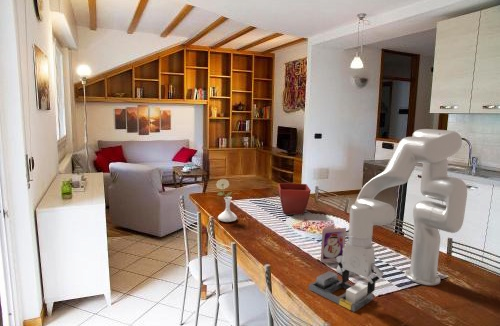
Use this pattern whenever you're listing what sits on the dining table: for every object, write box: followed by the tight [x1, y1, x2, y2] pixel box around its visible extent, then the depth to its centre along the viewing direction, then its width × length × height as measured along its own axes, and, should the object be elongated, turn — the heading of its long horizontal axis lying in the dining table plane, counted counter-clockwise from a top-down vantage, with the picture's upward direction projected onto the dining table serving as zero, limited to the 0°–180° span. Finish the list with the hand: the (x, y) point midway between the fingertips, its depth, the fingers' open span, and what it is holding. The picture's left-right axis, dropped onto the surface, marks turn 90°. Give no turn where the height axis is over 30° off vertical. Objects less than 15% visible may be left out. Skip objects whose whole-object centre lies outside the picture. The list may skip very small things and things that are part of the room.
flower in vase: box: [215, 178, 238, 223], centre depth 205 cm, size 13×11×25 cm
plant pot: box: [278, 182, 311, 215], centre depth 227 cm, size 19×19×17 cm
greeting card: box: [320, 223, 347, 263], centre depth 155 cm, size 11×7×15 cm, turn 105°
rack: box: [308, 270, 374, 313], centre depth 125 cm, size 12×19×5 cm, turn 42°
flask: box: [335, 248, 354, 277], centre depth 143 cm, size 7×7×10 cm
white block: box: [345, 282, 368, 304], centre depth 122 cm, size 8×4×5 cm, turn 132°
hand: (357, 286), depth 121 cm, fingers open, 9 cm apart
